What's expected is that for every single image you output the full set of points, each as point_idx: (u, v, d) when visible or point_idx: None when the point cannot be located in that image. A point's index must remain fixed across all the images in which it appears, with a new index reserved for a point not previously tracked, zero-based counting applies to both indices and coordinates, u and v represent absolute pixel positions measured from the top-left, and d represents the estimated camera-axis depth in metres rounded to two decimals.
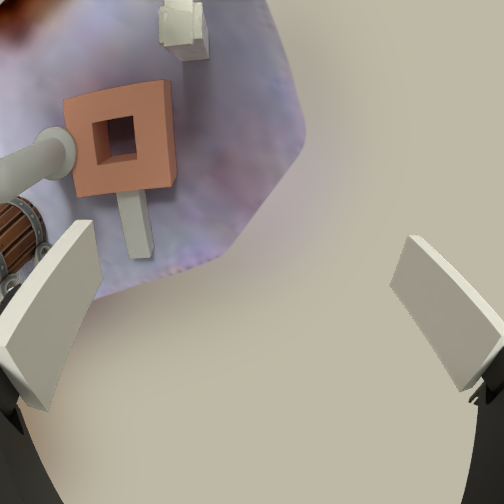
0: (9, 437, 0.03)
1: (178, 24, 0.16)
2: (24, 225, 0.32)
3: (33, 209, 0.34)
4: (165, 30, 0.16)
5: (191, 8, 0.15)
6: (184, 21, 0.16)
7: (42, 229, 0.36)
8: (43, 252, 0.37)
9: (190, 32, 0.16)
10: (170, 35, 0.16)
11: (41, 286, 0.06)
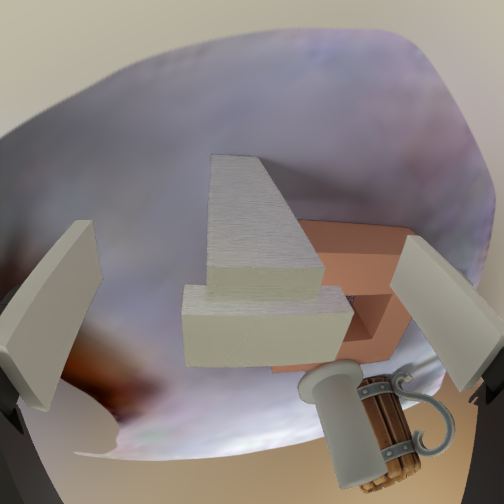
0: (9, 437, 0.03)
1: (287, 341, 0.08)
2: (372, 405, 0.32)
3: (357, 387, 0.35)
4: (294, 362, 0.08)
5: (243, 315, 0.07)
6: (284, 330, 0.07)
7: (379, 380, 0.35)
8: (400, 384, 0.35)
9: (322, 317, 0.07)
10: (312, 353, 0.08)
11: (41, 286, 0.06)
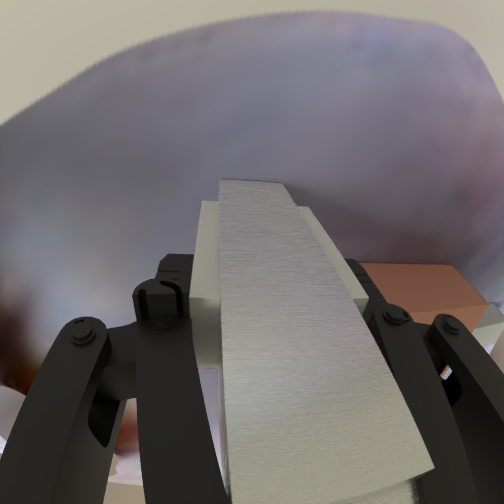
0: None
1: None
2: None
3: None
4: None
5: None
6: None
7: None
8: None
9: None
10: None
11: (218, 250, 0.09)
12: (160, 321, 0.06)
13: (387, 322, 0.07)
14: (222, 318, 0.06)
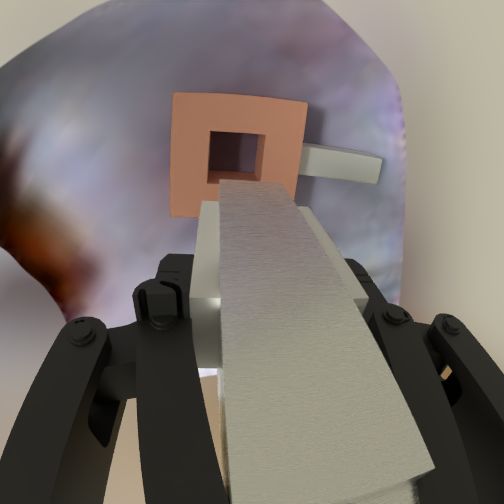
0: None
1: None
2: None
3: None
4: None
5: None
6: None
7: None
8: None
9: None
10: None
11: (218, 250, 0.09)
12: (160, 321, 0.06)
13: (387, 322, 0.07)
14: (222, 318, 0.06)
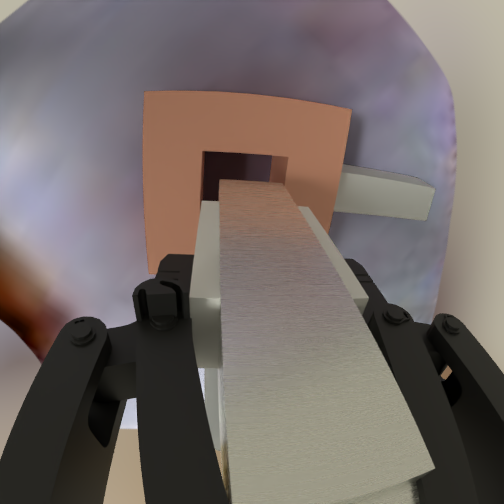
0: None
1: None
2: None
3: None
4: None
5: None
6: None
7: None
8: None
9: None
10: None
11: (218, 250, 0.09)
12: (160, 321, 0.06)
13: (387, 322, 0.07)
14: (222, 318, 0.06)
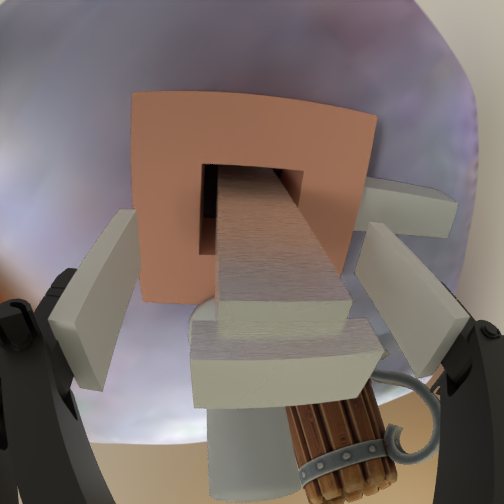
0: (67, 423, 0.04)
1: (309, 382, 0.07)
2: None
3: None
4: (315, 401, 0.07)
5: (262, 360, 0.06)
6: (306, 373, 0.06)
7: None
8: None
9: (350, 358, 0.06)
10: (335, 392, 0.07)
11: (101, 267, 0.08)
12: (17, 342, 0.05)
13: (484, 335, 0.07)
14: (218, 224, 0.10)
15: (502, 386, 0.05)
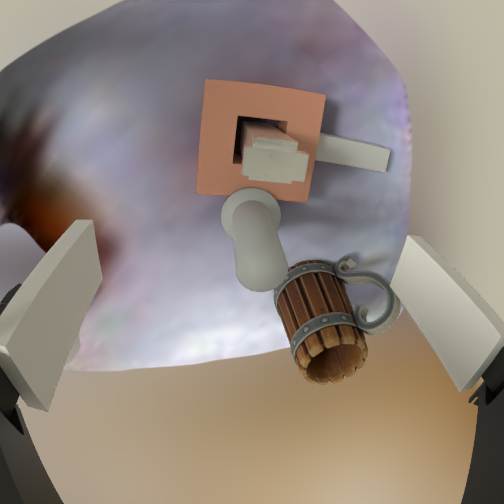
0: (9, 437, 0.03)
1: (283, 165, 0.20)
2: (310, 279, 0.38)
3: (297, 266, 0.41)
4: (286, 178, 0.20)
5: (267, 150, 0.19)
6: (281, 158, 0.20)
7: (321, 263, 0.41)
8: (344, 270, 0.41)
9: (296, 154, 0.20)
10: (294, 174, 0.20)
11: (41, 286, 0.06)
12: None
13: None
14: (249, 130, 0.23)
15: None
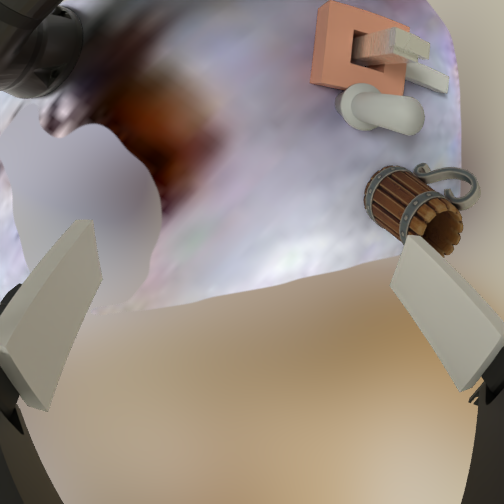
0: (9, 437, 0.03)
1: (417, 45, 0.21)
2: (402, 174, 0.39)
3: (385, 168, 0.42)
4: (419, 54, 0.21)
5: (407, 33, 0.20)
6: (416, 41, 0.20)
7: (403, 167, 0.42)
8: None
9: (423, 41, 0.20)
10: (423, 52, 0.21)
11: (41, 286, 0.06)
12: None
13: None
14: (377, 31, 0.24)
15: None
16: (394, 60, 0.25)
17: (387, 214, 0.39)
